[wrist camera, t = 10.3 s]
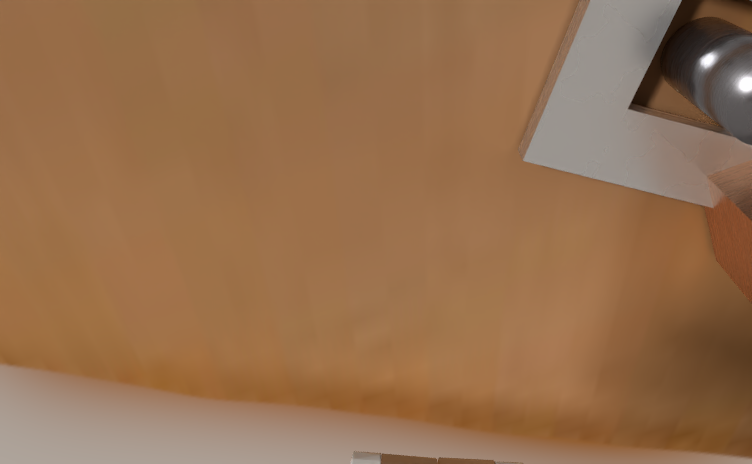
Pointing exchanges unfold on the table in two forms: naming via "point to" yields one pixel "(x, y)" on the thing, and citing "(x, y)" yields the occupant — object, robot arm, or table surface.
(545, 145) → the square hole fixture
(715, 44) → the post fixture
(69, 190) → the table surface
